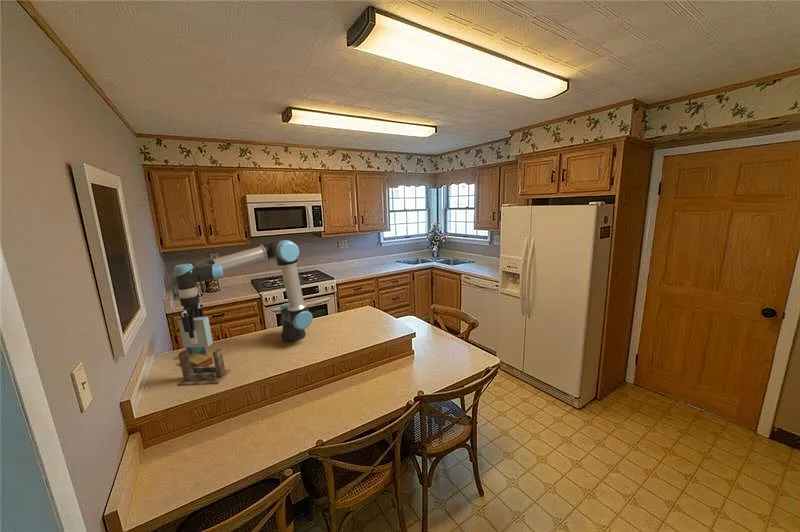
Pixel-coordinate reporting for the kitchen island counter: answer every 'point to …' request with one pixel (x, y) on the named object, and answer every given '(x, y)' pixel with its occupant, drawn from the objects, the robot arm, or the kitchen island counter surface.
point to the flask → (196, 350)
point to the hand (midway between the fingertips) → (197, 341)
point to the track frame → (202, 370)
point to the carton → (200, 360)
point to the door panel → (197, 333)
